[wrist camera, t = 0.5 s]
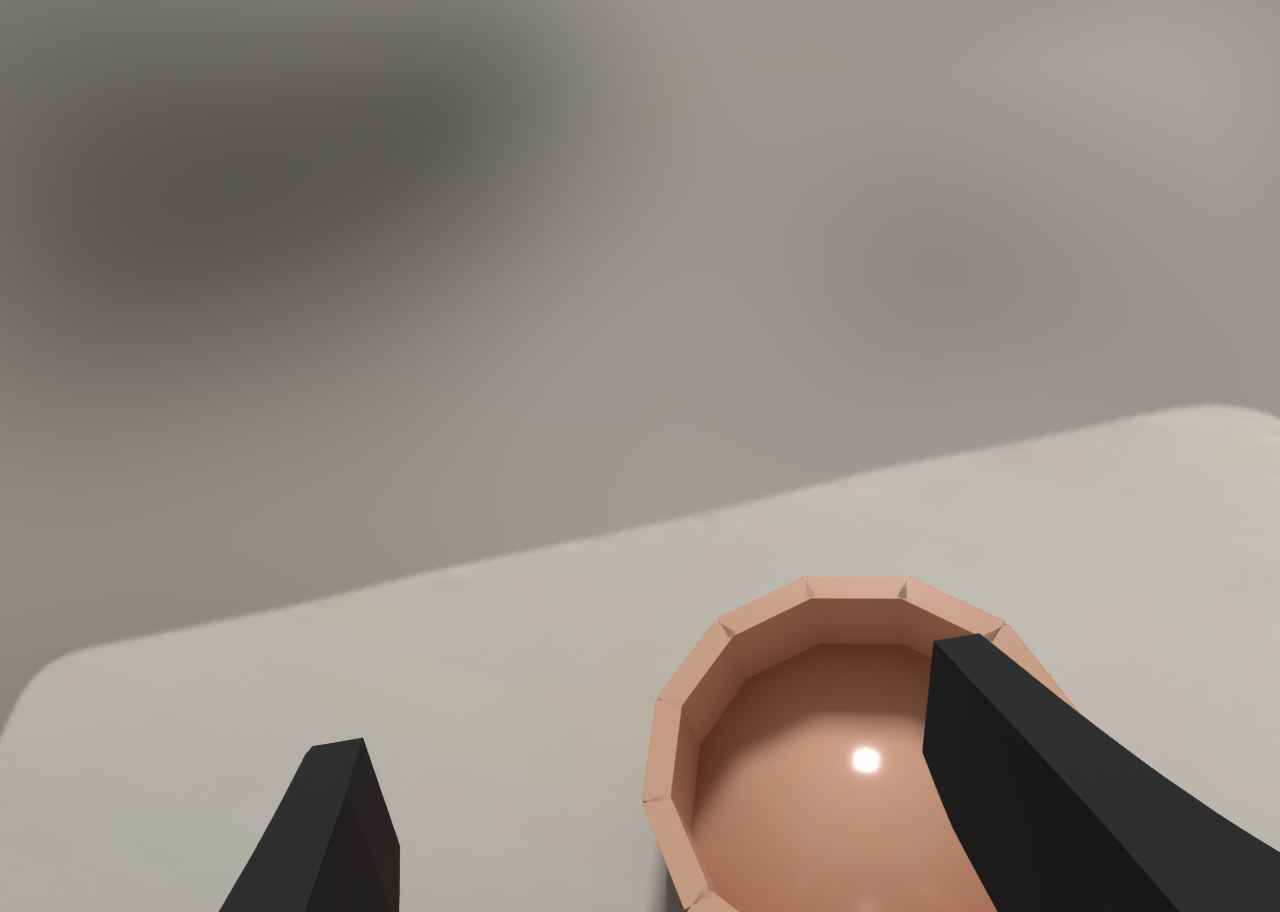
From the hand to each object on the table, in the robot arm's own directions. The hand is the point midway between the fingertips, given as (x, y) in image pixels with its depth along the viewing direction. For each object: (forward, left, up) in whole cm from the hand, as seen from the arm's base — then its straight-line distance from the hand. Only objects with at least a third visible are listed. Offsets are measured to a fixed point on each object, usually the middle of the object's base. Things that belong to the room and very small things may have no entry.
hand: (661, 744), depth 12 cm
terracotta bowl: (+4, -4, -18) cm, 19 cm away
